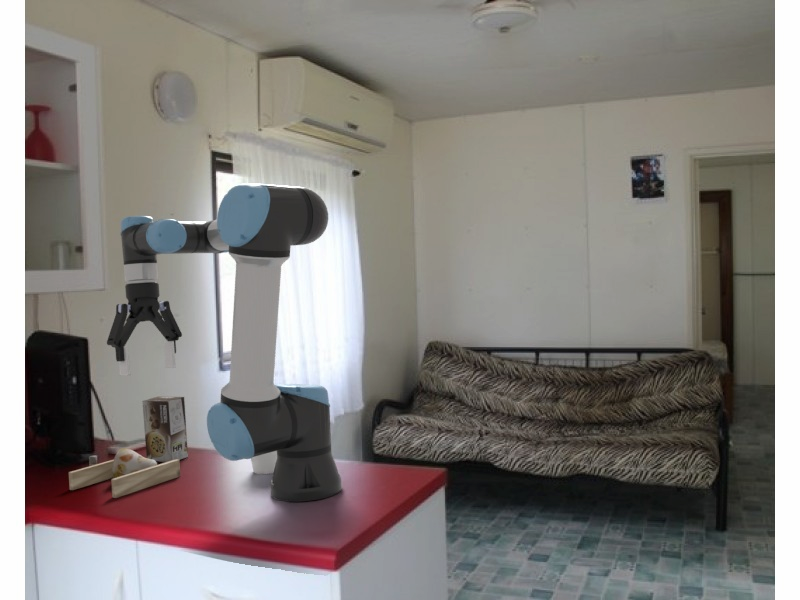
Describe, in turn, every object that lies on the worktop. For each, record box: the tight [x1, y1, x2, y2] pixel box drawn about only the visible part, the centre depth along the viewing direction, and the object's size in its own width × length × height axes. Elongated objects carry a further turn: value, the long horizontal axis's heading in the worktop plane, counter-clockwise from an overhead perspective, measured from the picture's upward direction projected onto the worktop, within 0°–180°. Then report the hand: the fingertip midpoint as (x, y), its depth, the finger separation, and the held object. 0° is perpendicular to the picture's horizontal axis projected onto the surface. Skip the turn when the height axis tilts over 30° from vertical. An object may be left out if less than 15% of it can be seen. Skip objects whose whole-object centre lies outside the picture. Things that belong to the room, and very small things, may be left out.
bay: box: [68, 459, 181, 499], centre depth 171 cm, size 16×18×4 cm
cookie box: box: [141, 396, 189, 463], centre depth 192 cm, size 9×6×16 cm
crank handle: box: [88, 455, 98, 467], centre depth 181 cm, size 10×2×5 cm, turn 149°
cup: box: [250, 451, 277, 475], centre depth 176 cm, size 9×9×12 cm
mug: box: [112, 448, 158, 478], centre depth 173 cm, size 8×10×10 cm
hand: (148, 371), depth 173 cm, fingers open, 13 cm apart
